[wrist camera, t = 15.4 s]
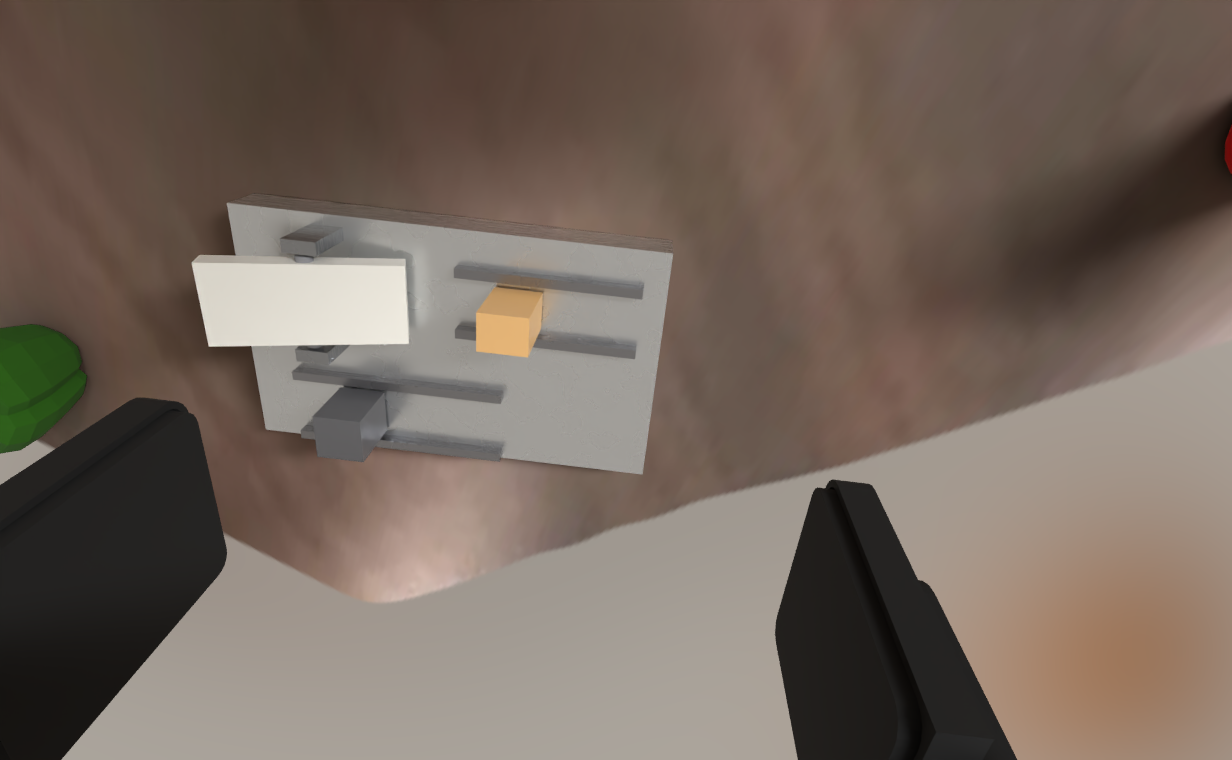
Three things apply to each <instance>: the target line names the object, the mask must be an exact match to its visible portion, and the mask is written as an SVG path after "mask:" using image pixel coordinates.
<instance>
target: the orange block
mask: <svg viewBox="0 0 1232 760" xmlns="http://www.w3.org/2000/svg"><path fill="white" fill-rule="evenodd" d="M542 298H543V293H542V292H533V291H524V290H516V289H507V288H498V287H494V289H493V290H492V291H491V293H490V294H489V295H488V297H487V298H486V300H485V301H484V302H483V304H482V305H481V306H480V308H479V309H478V311H477V312H476V352H485V353H493V354H502V355H511V356H519V357H528V356H529V354H530V352H531V350H532V348H533V345H534V343H535V341H536V339H537V336H538V334H539V332H540V330H541V319H542Z"/></svg>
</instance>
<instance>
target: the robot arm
mask: <svg viewBox="0 0 1232 760" xmlns="http://www.w3.org/2000/svg"><path fill="white" fill-rule="evenodd" d="M226 556H227V549H226V544H225V540H224V535H223V531H222V526H221V522H220V517H219V513H218V509H217V504H216V500H215V496H214V491H213V487H212V482H211V478H210V474H209V469H208V465H207V460H206V456H205V452H204V447H203V443H202V438H201V434H200V430H199V425H198V422H197V419H196V417H195V416H194V415H193V414H191V413H188V410H187V408H186V407H185V406H184V405H183V404H181V403H179V402H175V401H167V400H158V399H150V398H135V399H133V400H130V401H129V402H127V403H125V404H124V405H122V406H121V407H119V408H118V409H116V410H115V411H113V412H112V413H110V414H109V415H107V416H105V417H104V418H102V419H101V420H99V421H98V422H96V423H95V424H93V425H92V426H90V427H89V428H87V429H86V430H84V431H82V432H81V433H79V434H78V435H76V436H75V437H73V438H72V439H70V440H69V441H67V442H66V443H64V444H62V445H61V446H59V447H58V448H56V449H55V450H53V451H52V452H50V453H49V454H47V455H46V456H44V457H43V458H41V459H39V460H38V461H36V462H35V463H33V464H32V465H30V466H29V467H27V468H26V469H24V470H23V471H21V472H19V473H18V474H16V475H15V476H13V477H12V478H10V479H9V480H7V481H6V482H4V483H3V484H1V485H0V760H61V759H62V758H63V757H64V756H65V755H66V753H67V752H68V751H69V750H70V749H71V747H72V746H73V745H74V744H75V743H76V742H77V740H78V739H79V738H80V737H81V736H82V735H83V733H84V732H85V731H86V730H87V729H88V728H89V726H90V725H91V724H92V723H93V722H94V721H95V719H96V718H97V717H98V716H99V715H100V713H101V712H102V711H103V710H104V709H105V708H106V707H107V705H108V704H109V703H110V702H111V701H112V699H113V698H114V697H115V696H116V695H117V694H118V692H119V691H120V690H121V689H122V687H123V686H124V685H125V684H126V683H127V682H128V681H129V680H130V678H131V677H132V676H133V675H134V674H135V673H136V671H137V670H138V669H139V668H140V666H141V665H142V664H143V663H144V662H145V661H146V660H147V658H148V657H149V656H150V655H151V654H152V653H153V651H154V650H155V649H156V648H157V647H158V646H159V644H160V643H161V642H162V641H163V640H164V639H165V637H166V636H167V635H168V634H169V633H170V632H171V630H172V629H173V628H174V627H175V626H176V624H177V623H178V622H179V621H180V620H181V619H182V617H183V616H184V615H185V614H186V612H187V611H188V610H189V609H190V608H191V607H192V606H193V605H194V603H195V602H196V601H197V600H198V599H199V597H200V596H201V595H202V594H203V593H204V592H205V591H206V589H207V588H208V587H209V586H210V584H211V583H212V582H213V581H214V580H215V579H216V578H217V576H218V575H219V574H220V572H221V571H222V569H223V567H224V565H225V561H226ZM775 636H776V645H777V651H778V656H779V661H780V666H781V671H782V677H783V683H784V688H785V693H786V699H787V704H788V709H789V715H790V719H791V725H792V731H793V736H794V741H795V747H796V752H797V757H798V760H1017V758H1016V756H1015V754H1014V752H1013V750H1012V749H1011V746H1010V744H1009V742H1008V740H1007V738H1006V736H1005V734H1004V732H1003V730H1002V728H1001V726H1000V724H999V722H998V720H997V718H996V716H995V714H994V712H993V710H992V708H991V706H990V704H989V702H988V700H987V698H986V696H985V694H984V692H983V690H982V688H981V686H980V684H979V682H978V680H977V678H976V676H975V674H974V672H973V670H972V668H971V666H970V664H969V662H968V660H967V658H966V656H965V654H964V652H963V650H962V648H961V646H960V644H959V642H958V640H957V638H956V636H955V634H954V632H953V630H952V628H951V626H950V624H949V622H948V620H947V618H946V616H945V614H944V611H943V610H942V607H941V605H940V604H939V602H938V599H937V597H936V596H935V594H934V592H933V591H932V589H931V588H930V586H929V585H928V584H926V583H925V582H923V581H920V580H918V579H917V577H916V575H915V573H914V571H913V569H912V567H911V564H910V562H909V560H908V558H907V556H906V554H905V552H904V550H903V548H902V546H901V544H900V541H899V539H898V537H897V535H896V533H895V531H894V529H893V527H892V525H891V523H890V521H889V518H888V516H887V514H886V512H885V510H884V508H883V506H882V504H881V502H880V500H879V498H878V495H877V493H876V491H875V489H874V488H873V486H872V485H870V484H865V483H857V482H848V481H840V480H831V481H829V483H828V484H827V486H826V488H824V489H823V488H816V489H815V490H814V492H813V494H812V497H811V501H810V504H809V508H808V512H807V515H806V518H805V521H804V525H803V529H802V532H801V535H800V539H799V542H798V546H797V549H796V553H795V556H794V560H793V563H792V567H791V570H790V574H789V577H788V580H787V584H786V587H785V591H784V594H783V598H782V602H781V605H780V608H779V612H778V615H777V620H776V629H775Z"/></svg>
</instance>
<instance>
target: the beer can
mask: <svg viewBox="0 0 1232 760" xmlns="http://www.w3.org/2000/svg"><path fill="white" fill-rule="evenodd" d="M1225 161H1226V164H1227V166H1228V169H1229V171H1230V173H1231V174H1232V125H1231V128H1230V130H1229V133H1228V136H1227V139H1226V142H1225Z"/></svg>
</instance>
